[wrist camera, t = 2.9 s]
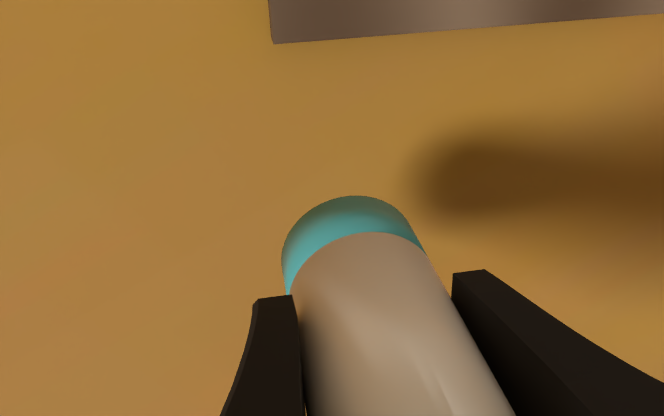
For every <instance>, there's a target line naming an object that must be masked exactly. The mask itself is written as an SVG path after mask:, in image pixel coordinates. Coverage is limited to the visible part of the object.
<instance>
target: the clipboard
mask: <svg viewBox="0 0 664 416" xmlns="http://www.w3.org/2000/svg"><path fill="white" fill-rule="evenodd" d="M268 5H269V17H270V28H271V38H272V41H273V43H274V44H282V43H295V42H307V41H320V40H333V39H345V38H358V37H370V36H383V35H396V34H408V33H421V32H433V31H446V30H458V29H471V28H484V27H496V26H509V25H521V24H534V23H546V22H559V21H572V20H584V19H597V18H609V17H622V16H635V15H647V14H660V13H664V0H268Z"/></svg>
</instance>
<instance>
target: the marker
mask: <svg viewBox="0 0 664 416" xmlns="http://www.w3.org/2000/svg"><path fill="white" fill-rule="evenodd" d="M281 261H282V270H283V276H284V282H285V288H286V294H287V295H291V294H292V296H293V300H294V304H295V308H296V313H297V317H298V327H299V339H300V352H301V364H302V381H303V395H304V401H305V407H306V413H307V416H516V415H515V413H514V411H513V409H512V407H511V406H510V404H509V402H508V400H507V398H506V397H505V395H504V393H503V391H502V389H501V388H500V386H499V384H498V382H497V380H496V379H495V377H494V375H493V373H492V371H491V370H490V368H489V366H488V364H487V363H486V361H485V359H484V357H483V355H482V354H481V352H480V350H479V348H478V346H477V345H476V343H475V341H474V339H473V337H472V336H471V334H470V332H469V330H468V328H467V327H466V325H465V323H464V321H463V319H462V318H461V316H460V314H459V312H458V310H457V309H456V307H455V305H454V303H453V302H452V300H451V298H450V296H449V294H448V293H447V291H446V289H445V287H444V285H443V284H442V282H441V280H440V278H439V276H438V275H437V273H436V271H435V269H434V267H433V266H432V264H431V262H430V260H429V258H428V257H427V255H426V253H425V251H424V249H423V248H422V246H421V244H420V242H419V240H418V239H417V237H416V235H415V233H414V232H413V230H412V228H411V226H410V224H409V223H408V221H407V219H406V218H405V217H404V216H403V214H402V213H401V212H399V211H398V210H397V209H396V208H395V207H393V206H392V205H390V204H388V203H386V202H384V201H382V200H379V199H376V198H372V197H367V196H345V197H340V198H336V199H332V200H329V201H327V202H324V203H322V204H320V205H318V206H316V207H314V208H313V209H311V210H310V211H309V212H307V213H306V214H305V215H303V216H302V217H301V218H300V219H299V220H298V221H297V223H296V224H295V225H294V226H293V227H292V229H291V231H290V232H289V234H288V236H287V238H286V240H285V243H284V246H283V250H282V257H281Z"/></svg>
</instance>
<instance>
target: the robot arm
mask: <svg viewBox="0 0 664 416" xmlns="http://www.w3.org/2000/svg"><path fill="white" fill-rule="evenodd" d="M451 300H452V302H453V303H454V305H455V307H456V309H457V310H458V312H459V314H460V316H461V318H462V319H463V321H464V323H465V325H466V327H467V328H468V330H469V332H470V334H471V336H472V337H473V339H474V341H475V343H476V345H477V346H478V348H479V350H480V352H481V354H482V355H483V357H484V359H485V361H486V363H487V364H488V366H489V368H490V370H491V371H492V373H493V375H494V377H495V379H496V380H497V382H498V384H499V386H500V388H501V389H502V391H503V393H504V395H505V397H506V398H507V400H508V402H509V404H510V406H511V407H512V409H513V411H514V413H515V415H516V416H664V383H663V382H661V381H659V380H657V379H655V378H653V377H651V376H649V375H647V374H646V373H644V372H642V371H640V370H638V369H637V368H635V367H633V366H631V365H629V364H628V363H626V362H624V361H623V360H621V359H619V358H618V357H616V356H614V355H613V354H611V353H609V352H608V351H606V350H604V349H603V348H601V347H599V346H598V345H596V344H594V343H593V342H591V341H590V340H588V339H586V338H585V337H583V336H582V335H580V334H579V333H577V332H575V331H574V330H572V329H571V328H569V327H568V326H566V325H565V324H563V323H562V322H560V321H559V320H557V319H556V318H554V317H553V316H551V315H550V314H549V313H547V312H546V311H544V310H543V309H541V308H540V307H538V306H537V305H536V304H534V303H533V302H531V301H530V300H528V299H527V298H526V297H524V296H523V295H521V294H520V293H518V292H517V291H516V290H514V289H513V288H511V287H510V286H508V285H507V284H506V283H504V282H503V281H501V280H500V279H498V278H497V277H495V276H494V275H493V274H491V273H489V272H488V271H486V270H485V269H482V270H475V271H467V272H459V273H453V280H452V295H451ZM220 416H306V412H305V401H304V395H303V381H302V364H301V352H300V339H299V327H298V317H297V313H296V308H295V304H294V300H293V296H292V294H291V295H284V296H276V297H268V298H261V299H258V300H257V301H256V302H255V303H254V304H253V308H252V319H251V325H250V329H249V334H248V338H247V341H246V345H245V349H244V352H243V355H242V358H241V361H240V364H239V367H238V370H237V373H236V376H235V379H234V382H233V385H232V387H231V390H230V392H229V395H228V397H227V400H226V402H225V404H224V407H223V409H222V412H221V414H220Z"/></svg>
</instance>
